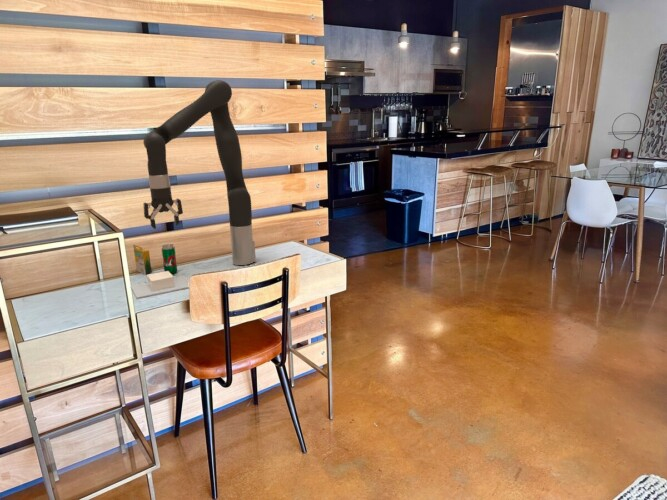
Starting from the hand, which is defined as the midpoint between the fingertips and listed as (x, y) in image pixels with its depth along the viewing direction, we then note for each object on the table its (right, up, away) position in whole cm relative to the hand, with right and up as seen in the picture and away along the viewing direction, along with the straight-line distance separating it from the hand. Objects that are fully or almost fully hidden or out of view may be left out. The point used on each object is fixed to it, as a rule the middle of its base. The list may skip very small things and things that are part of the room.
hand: (165, 226), depth 184 cm
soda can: (0, -19, +6) cm, 20 cm away
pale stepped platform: (+2, -23, -9) cm, 25 cm away
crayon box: (-12, -19, +8) cm, 24 cm away
